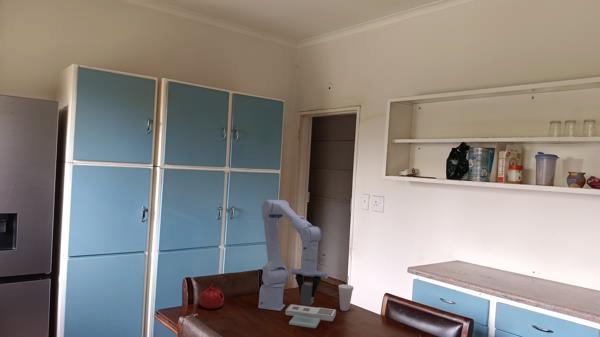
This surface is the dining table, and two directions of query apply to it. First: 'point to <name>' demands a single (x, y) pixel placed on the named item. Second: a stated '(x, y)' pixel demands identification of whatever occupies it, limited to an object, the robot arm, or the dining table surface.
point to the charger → (306, 294)
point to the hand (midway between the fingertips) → (307, 295)
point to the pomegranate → (211, 298)
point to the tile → (304, 321)
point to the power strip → (311, 312)
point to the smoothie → (345, 296)
